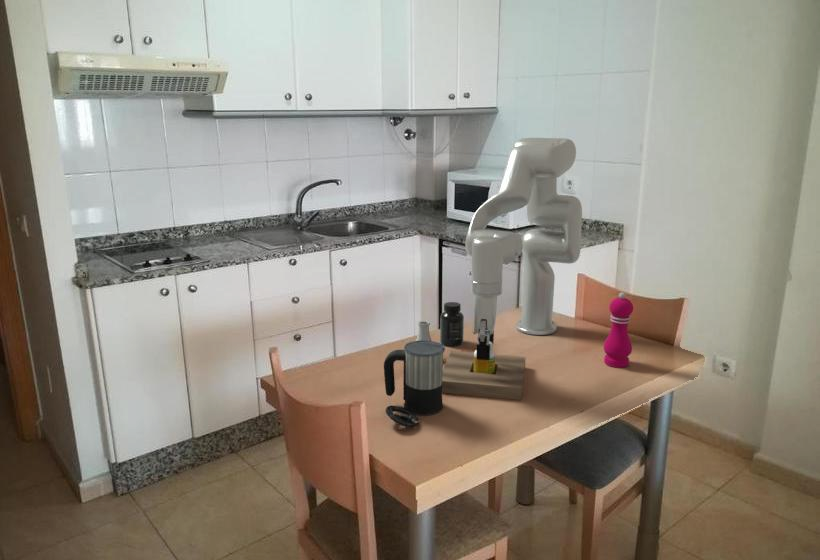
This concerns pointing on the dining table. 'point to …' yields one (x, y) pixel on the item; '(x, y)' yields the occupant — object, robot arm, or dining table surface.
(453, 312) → the supplement bottle
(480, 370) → the supplement bottle
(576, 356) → the dining table surface
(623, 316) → the pepper mill
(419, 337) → the flask
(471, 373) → the block
